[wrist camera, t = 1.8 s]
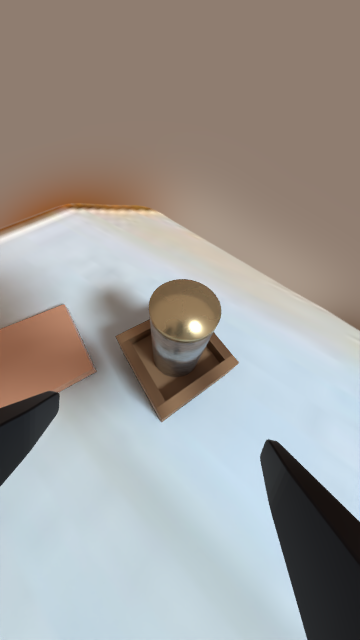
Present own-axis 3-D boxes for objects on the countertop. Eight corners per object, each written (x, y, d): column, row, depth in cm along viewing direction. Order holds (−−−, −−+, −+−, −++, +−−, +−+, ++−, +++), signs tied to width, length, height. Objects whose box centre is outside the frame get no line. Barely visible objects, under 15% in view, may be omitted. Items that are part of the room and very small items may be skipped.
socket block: (161, 422, 19) (161, 419, 15) (123, 352, 23) (115, 336, 19) (225, 374, 22) (239, 362, 18) (183, 320, 26) (187, 300, 22)
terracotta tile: (-8, 428, 18) (-18, 428, 17) (-22, 345, 21) (-31, 341, 20) (96, 371, 21) (93, 368, 20) (68, 309, 25) (64, 304, 24)
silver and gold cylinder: (168, 387, 18) (175, 353, 10) (145, 348, 20) (135, 295, 12) (206, 361, 20) (236, 316, 12) (181, 327, 22) (193, 270, 14)
